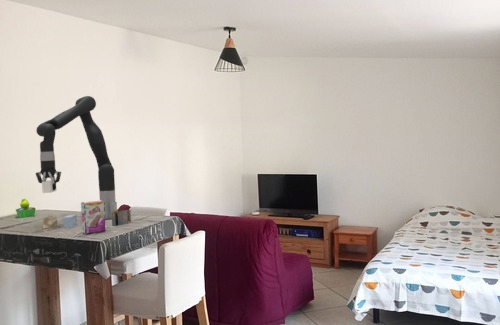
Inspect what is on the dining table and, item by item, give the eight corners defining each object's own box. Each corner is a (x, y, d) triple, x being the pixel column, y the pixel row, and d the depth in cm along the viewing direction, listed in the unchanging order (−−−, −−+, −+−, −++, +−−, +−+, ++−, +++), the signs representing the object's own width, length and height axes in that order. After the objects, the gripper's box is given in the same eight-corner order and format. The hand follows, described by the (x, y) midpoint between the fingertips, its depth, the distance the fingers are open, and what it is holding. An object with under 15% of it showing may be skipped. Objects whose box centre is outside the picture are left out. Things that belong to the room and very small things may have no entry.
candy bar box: (85, 234, 255) (84, 203, 254) (81, 233, 259) (80, 202, 258) (106, 231, 263) (104, 200, 262) (102, 230, 266) (100, 199, 265)
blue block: (77, 225, 283) (76, 214, 283) (71, 227, 276) (71, 217, 275) (69, 225, 284) (68, 214, 283) (63, 228, 276) (63, 217, 275)
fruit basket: (16, 218, 311) (15, 200, 311) (15, 216, 319) (14, 199, 318) (36, 216, 317) (35, 199, 316) (34, 214, 325) (33, 197, 324)
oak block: (57, 225, 283) (56, 215, 283) (51, 228, 275) (50, 217, 275) (49, 226, 283) (49, 215, 283) (43, 228, 275) (42, 218, 275)
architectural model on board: (115, 226, 277) (114, 209, 277) (112, 226, 279) (111, 209, 278) (131, 223, 286) (130, 206, 286) (128, 222, 288) (127, 206, 287)
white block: (56, 190, 281) (55, 180, 280) (50, 192, 273) (50, 181, 272) (48, 190, 281) (47, 180, 280) (42, 192, 273) (41, 182, 272)
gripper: (63, 158, 279) (64, 189, 280) (37, 159, 279) (39, 189, 280) (57, 159, 272) (59, 190, 273) (31, 160, 272) (33, 191, 273)
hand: (49, 190), depth 277 cm, fingers closed on white block, 4 cm apart
